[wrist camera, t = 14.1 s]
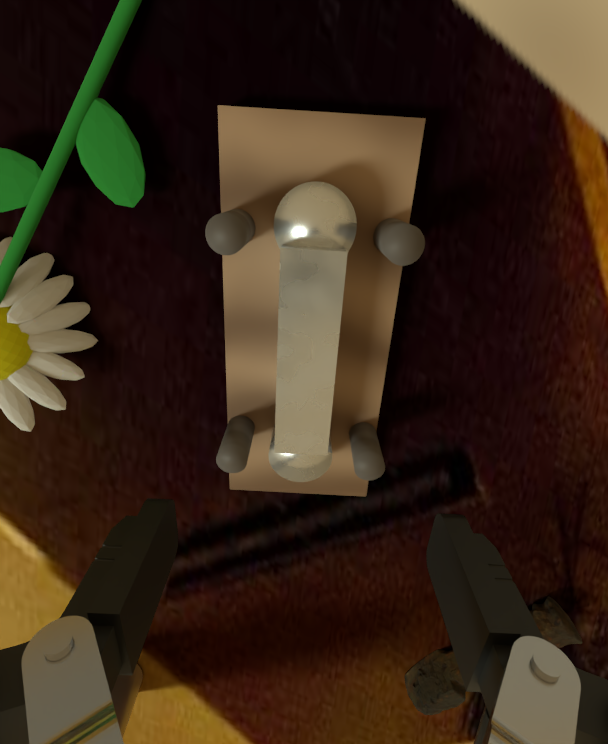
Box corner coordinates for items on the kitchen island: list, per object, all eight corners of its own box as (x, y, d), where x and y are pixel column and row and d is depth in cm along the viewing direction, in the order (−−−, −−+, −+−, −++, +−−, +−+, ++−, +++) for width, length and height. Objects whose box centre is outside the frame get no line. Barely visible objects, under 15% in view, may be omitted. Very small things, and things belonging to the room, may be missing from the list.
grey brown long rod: (547, 586, 39) (575, 635, 35) (566, 607, 40) (595, 657, 36) (389, 659, 45) (397, 708, 40) (410, 675, 46) (420, 725, 42)
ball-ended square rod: (356, 184, 22) (363, 184, 19) (328, 461, 31) (330, 493, 28) (278, 179, 22) (272, 178, 19) (271, 458, 31) (266, 490, 27)
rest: (363, 483, 33) (373, 536, 29) (233, 476, 33) (219, 528, 28) (418, 122, 22) (449, 104, 17) (223, 110, 22) (198, 88, 17)
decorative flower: (58, -130, 20) (-127, 349, 27) (1, -231, 16) (-204, 375, 23) (271, 54, 24) (59, 434, 31) (274, 14, 19) (25, 471, 26)
